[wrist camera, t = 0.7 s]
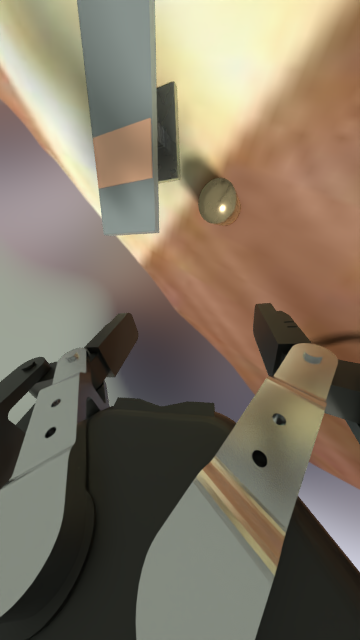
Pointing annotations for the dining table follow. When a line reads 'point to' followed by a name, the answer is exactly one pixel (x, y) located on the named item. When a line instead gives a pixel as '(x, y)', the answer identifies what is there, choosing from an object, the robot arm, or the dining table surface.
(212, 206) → the ball
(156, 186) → the seesaw board
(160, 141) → the pivot stand
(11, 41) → the dining table surface
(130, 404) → the robot arm
